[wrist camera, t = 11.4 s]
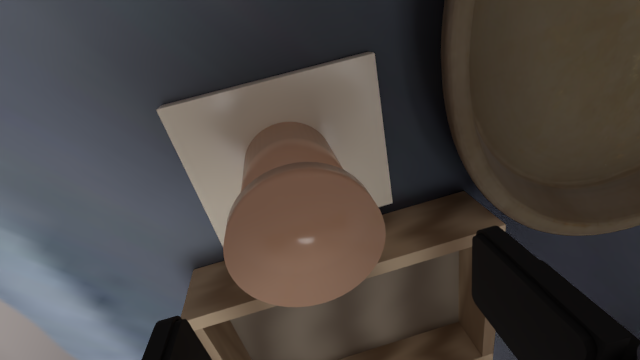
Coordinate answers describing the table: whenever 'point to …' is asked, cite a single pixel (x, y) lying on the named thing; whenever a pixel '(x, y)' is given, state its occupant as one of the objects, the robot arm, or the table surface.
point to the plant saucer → (547, 108)
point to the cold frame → (364, 300)
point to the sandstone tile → (275, 107)
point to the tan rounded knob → (300, 221)
